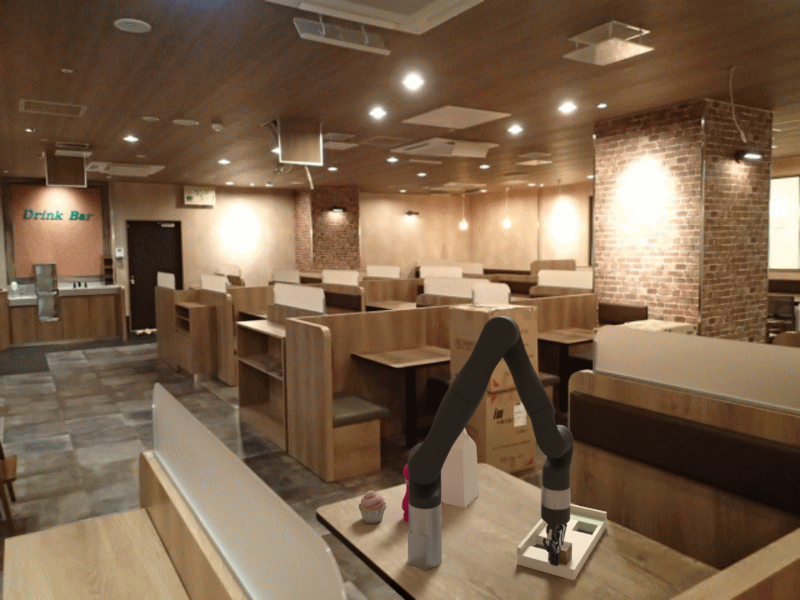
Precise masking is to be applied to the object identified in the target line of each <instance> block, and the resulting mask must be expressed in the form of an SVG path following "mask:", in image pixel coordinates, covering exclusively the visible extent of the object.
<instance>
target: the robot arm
mask: <svg viewBox="0 0 800 600" xmlns="http://www.w3.org/2000/svg"><path fill="white" fill-rule="evenodd" d="M523 341H524V340H523V338H522V334H521V331H520V326H519V325H518V324H517V322H516V320H515V319H513V318H511V317H509V316H506V315H496V316H494V317H491V318H489V319H488V320H487V321H486V322H485V324H484V325H483V327H482V330H481V333H480V334H479V337H478V339H477V341H476V344H475V346H474V348H473V350H472V351H471V354H470V356H469V357H468V359H467V360H466V362H465V363H464V364H463V366H462V367H461V369H460V371H458V373H457V375H456V376H455V377H454V379H453V381H452V382H451V384H450V386H449V387H448V388H447V391H446V392H445V394H444V396H443V398H442V400H441V402H440V404H439V407H438V409H437V411H436V413H435V416H434V418H433V419H434V420H433V423H432V424H431V427H430V430H429V432H428V433H427V435H426V437H425V438H424V440H423V442H420V443H417V444H416V445H414V446H413V447H412V448H411V450H410V451H409V454H408V457H407V463H406V465H407V468H408V473H409V488H408V502H409V522H408V532H407V564H408V565H410V566H412V567H416V568H419V569H422V570H425V571H427V570H429V569H431V568H435V567H437V566H439V565H440V564H442V560H443V551H442V550H443V546H442V544H443V541H442V540H443V539H442V537H443V536H442V527H443V526H442V502H441V469H442V467H443V465H444V462H445V460H446V458H447V456H448V454H449V452H450V450H451V448H452V446H453V444H454V443H455V441H456V440H457V438H458V437H459V436H460V434H461V433H462V431H463V430H464V428H465V429H466V427H467V426H468V423H469V422H470V421H471V419H472V417H473V416H474V414H475V412H476V411H477V409H478V408H479V406H480V404H481V402H482V400H483V398H484V396H485V394H486V391H487V389H488V387H489V383H490V382H491V381H490V380H491V378H492V375H493V374H494V370H495V369H496V368H497V366H498V365H499V363H500V362H501V360H502V359H503V361H504V362H505V364H506V366H507V368H508V370H509V372H510V375H511V378H512V380H513V383H514V386H515V390H516V392H517V395H518V397H519V399H520V401H521V404H522V406H523V408H524V410H525V412H526V414H527V416H528V417H529V419H530V422H531V426H532V430H533V434H534V437H535V440H536V444H537V446H538V448H539V449H540V451H541V452H542V454H544V456H546V459H545V462H544V465H543V466H542V472H541V474H542V475H541V477H542V478H541V483H542V484H541V491H540V517H541V518H542V519H543V520H544V521H545V522H546V523H547V526H546V533H547V539H545V538H544V539H543V544H544V546H545V549H546V551H547V552H550V564H551V565H554V566H558V565H559V563H560V551H559V550H561V545H563V542H564V538H565V533H566V528H567V523H568V522H569V521H570V504H571V489H570V488H571V485H570V484H571V483H570V482H571V481H570V480H571V479H570V478H571V473H570V471H571V470H570V469H571V464H572V460H573V452H574V442H575V441H574V436H573V433H572V432H571V430H570V429H569V428H568V427H567V426H565V425H564V424H563V425H562V424H557V423H556V420H555V416H556V415H555V414H556V409H555V406H554V404H553V403H552V401H551V398H550V396H549V394H548V392H547V390H546V389H545V386H544V384H543V383H542V381H541V379H540V377H539V375H538V374H537V372H536V370H535V368H534V366H533V364H532V361H531V359H530V358H529V355H528V353H527V350H526V348H525V344H524V342H523ZM541 518H540V519H541Z"/></svg>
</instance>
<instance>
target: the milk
mask: <svg viewBox="0 0 800 600" xmlns="http://www.w3.org/2000/svg"><path fill="white" fill-rule="evenodd" d="M466 429H467V428H466V427H465V428H464V430H463V431H462V433H461V434H460V436H459V437H458V438H457V440H456V441H455V443H454V444H453V446H452V448H451V450H450V452H449V454H448V456H447V458H446V460H445V462H444V465H443V467H442V469H441V503H442V502H443V503H444V504H446V503H447V504H446V505H452V506H455V507H460V508H462V507H463V509H465V508H467V507H468V506H469V505H470V504H471V503H472V502H474V500H476V499H477V498H478V497H479V496H480V487H479V471H478V469H479V468H478V452H477V451H478V450H477V449H478V448H477V444H476V442H475V440H474V439H473V438H471V436H470V435H469V434H468V432H467V430H466ZM476 497H477V498H476ZM475 498H476V499H475ZM443 503H442V504H443ZM468 504H469V505H468ZM467 505H468V506H467Z"/></svg>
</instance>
